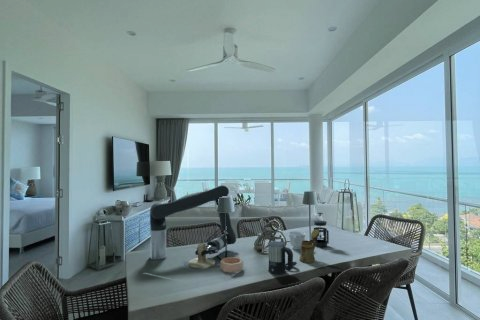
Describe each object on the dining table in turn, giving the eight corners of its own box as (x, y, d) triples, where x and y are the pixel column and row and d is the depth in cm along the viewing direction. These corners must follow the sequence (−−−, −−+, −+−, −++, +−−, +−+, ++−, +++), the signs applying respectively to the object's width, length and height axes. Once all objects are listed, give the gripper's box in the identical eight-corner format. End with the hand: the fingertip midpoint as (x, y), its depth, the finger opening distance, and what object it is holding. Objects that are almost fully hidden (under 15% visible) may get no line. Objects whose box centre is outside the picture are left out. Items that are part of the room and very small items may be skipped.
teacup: (285, 251, 179) (285, 235, 179) (290, 244, 193) (289, 230, 193) (304, 253, 175) (303, 237, 175) (307, 246, 188) (307, 232, 189)
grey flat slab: (190, 273, 142) (190, 271, 142) (182, 263, 157) (182, 262, 157) (222, 267, 151) (222, 265, 151) (211, 258, 165) (211, 257, 165)
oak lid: (205, 270, 144) (205, 249, 144) (182, 266, 150) (182, 245, 151) (220, 261, 157) (220, 242, 157) (198, 258, 164) (198, 239, 164)
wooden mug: (324, 260, 161) (323, 229, 161) (306, 264, 155) (305, 232, 155) (313, 256, 169) (313, 226, 169) (296, 259, 163) (296, 229, 163)
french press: (309, 245, 192) (309, 212, 193) (318, 243, 197) (318, 211, 198) (323, 249, 182) (323, 214, 183) (332, 246, 188) (331, 213, 188)
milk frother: (265, 273, 142) (265, 244, 142) (273, 263, 156) (272, 237, 157) (293, 277, 137) (293, 247, 137) (298, 266, 151) (297, 239, 152)
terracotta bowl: (226, 275, 139) (226, 265, 139) (218, 268, 149) (218, 259, 149) (245, 271, 144) (245, 262, 145) (236, 264, 154) (236, 255, 155)
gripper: (205, 238, 170) (188, 245, 155) (225, 240, 164) (209, 248, 148) (205, 250, 170) (188, 258, 154) (225, 253, 163) (209, 262, 148)
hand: (198, 253), depth 151 cm, fingers closed on oak lid, 3 cm apart
